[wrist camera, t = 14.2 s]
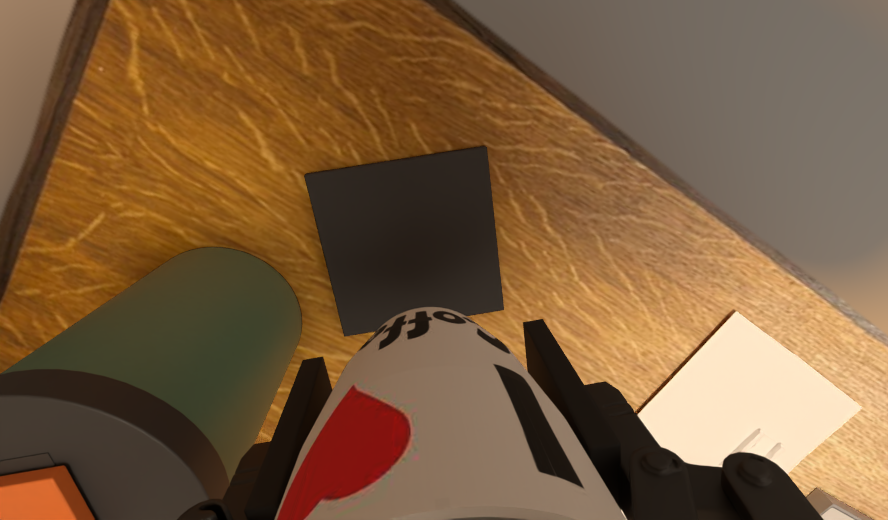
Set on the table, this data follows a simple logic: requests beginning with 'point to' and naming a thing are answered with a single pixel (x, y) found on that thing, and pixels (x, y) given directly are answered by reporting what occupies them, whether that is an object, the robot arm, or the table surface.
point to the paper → (746, 402)
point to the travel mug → (156, 386)
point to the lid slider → (42, 496)
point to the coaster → (408, 236)
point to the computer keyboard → (833, 507)
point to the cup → (441, 435)
